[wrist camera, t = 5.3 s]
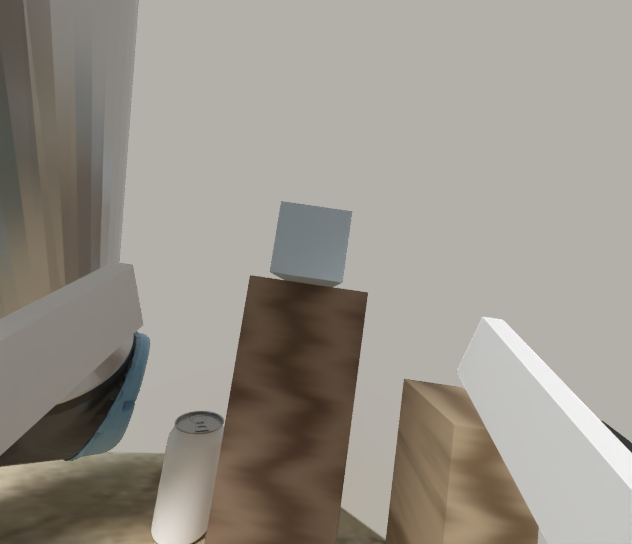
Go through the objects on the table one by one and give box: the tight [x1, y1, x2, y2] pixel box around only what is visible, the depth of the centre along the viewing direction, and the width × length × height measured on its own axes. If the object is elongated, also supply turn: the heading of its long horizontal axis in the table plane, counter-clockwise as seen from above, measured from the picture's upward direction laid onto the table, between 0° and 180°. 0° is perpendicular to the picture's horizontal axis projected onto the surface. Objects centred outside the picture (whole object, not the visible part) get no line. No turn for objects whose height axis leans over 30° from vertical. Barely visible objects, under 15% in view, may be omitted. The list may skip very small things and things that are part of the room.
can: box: [151, 411, 224, 544], centre depth 32 cm, size 6×6×12 cm
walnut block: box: [205, 276, 368, 544], centre depth 26 cm, size 10×10×30 cm
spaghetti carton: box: [270, 201, 352, 287], centre depth 26 cm, size 22×4×4 cm, turn 0°
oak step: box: [386, 379, 539, 544], centre depth 22 cm, size 6×10×22 cm, turn 0°
